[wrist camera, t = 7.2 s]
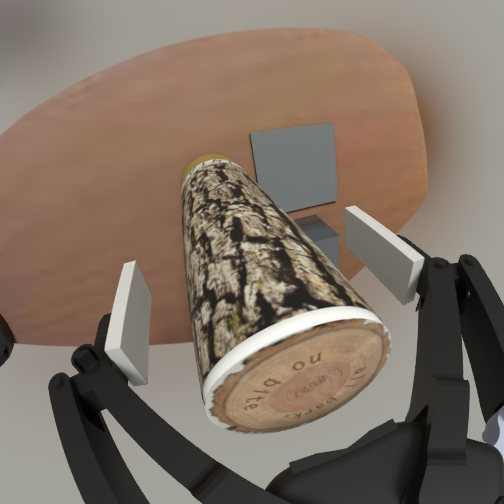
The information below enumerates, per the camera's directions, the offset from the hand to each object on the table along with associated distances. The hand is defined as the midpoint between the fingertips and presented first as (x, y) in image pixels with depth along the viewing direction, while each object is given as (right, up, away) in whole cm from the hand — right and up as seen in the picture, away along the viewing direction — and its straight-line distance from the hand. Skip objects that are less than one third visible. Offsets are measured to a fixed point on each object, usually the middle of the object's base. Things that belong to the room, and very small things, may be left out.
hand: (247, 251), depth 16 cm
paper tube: (-4, +8, +13) cm, 16 cm away
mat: (+5, +10, +15) cm, 18 cm away
